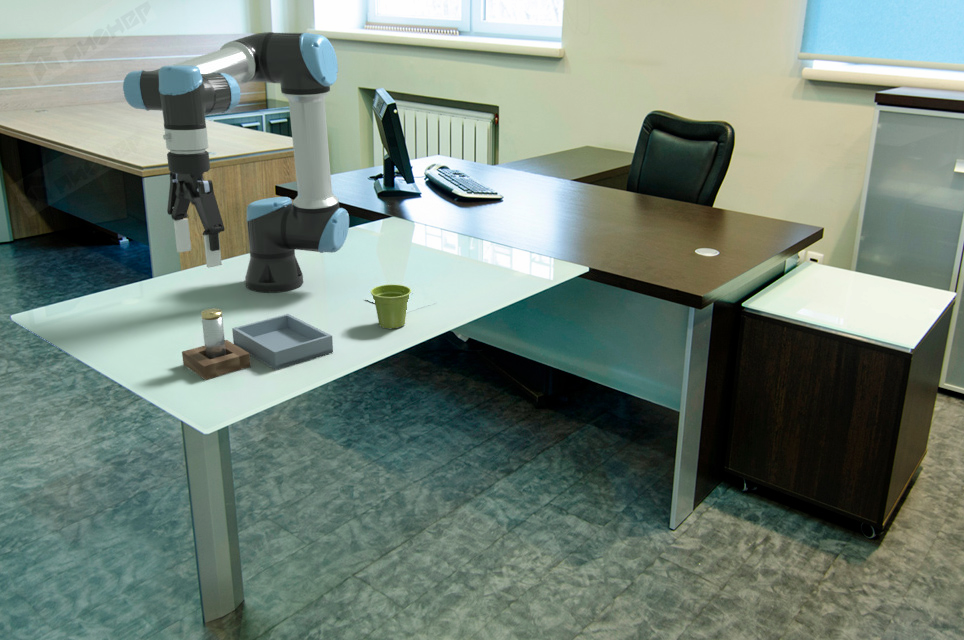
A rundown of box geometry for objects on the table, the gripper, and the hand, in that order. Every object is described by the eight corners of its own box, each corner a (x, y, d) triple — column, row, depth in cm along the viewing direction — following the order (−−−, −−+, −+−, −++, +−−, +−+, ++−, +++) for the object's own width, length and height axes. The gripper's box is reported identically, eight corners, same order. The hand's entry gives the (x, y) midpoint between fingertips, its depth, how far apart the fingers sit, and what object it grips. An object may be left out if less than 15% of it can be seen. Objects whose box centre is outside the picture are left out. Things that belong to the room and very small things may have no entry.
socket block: (227, 352, 177) (226, 339, 176) (250, 366, 170) (249, 353, 169) (183, 364, 171) (181, 351, 169) (205, 380, 164) (204, 366, 163)
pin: (221, 360, 173) (216, 307, 169) (230, 366, 170) (225, 312, 166) (203, 365, 170) (197, 311, 166) (212, 371, 168) (206, 316, 164)
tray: (289, 329, 190) (288, 313, 189) (333, 352, 178) (332, 335, 177) (233, 345, 181) (232, 328, 180) (276, 370, 169) (274, 352, 168)
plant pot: (400, 334, 189) (399, 299, 186) (364, 328, 192) (363, 293, 189) (418, 321, 197) (417, 287, 194) (383, 316, 200) (382, 282, 197)
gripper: (142, 144, 161) (154, 248, 169) (197, 161, 144) (209, 276, 152) (179, 141, 166) (190, 242, 173) (236, 157, 149) (246, 269, 156)
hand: (198, 258), depth 163 cm, fingers open, 13 cm apart
